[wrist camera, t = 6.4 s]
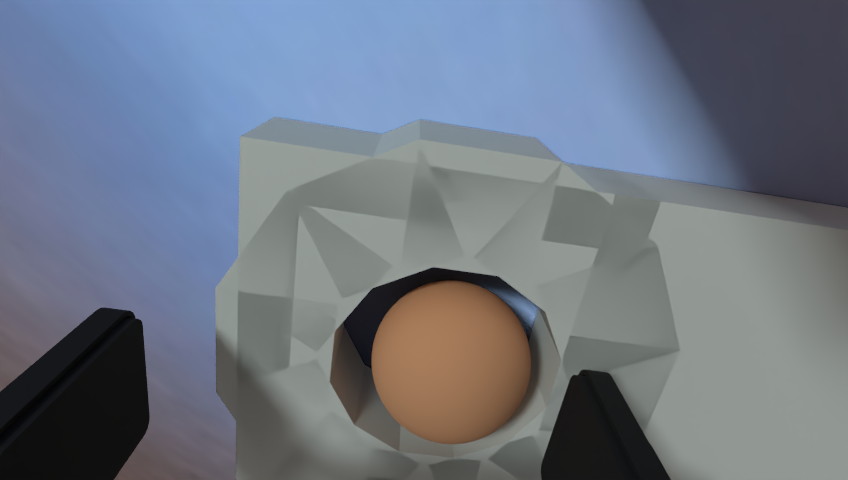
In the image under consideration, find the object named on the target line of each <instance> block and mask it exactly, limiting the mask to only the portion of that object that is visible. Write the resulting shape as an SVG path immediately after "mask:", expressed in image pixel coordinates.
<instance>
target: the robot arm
mask: <svg viewBox="0 0 848 480" xmlns="http://www.w3.org/2000/svg"><path fill="white" fill-rule="evenodd" d="M148 424H149V404H148V391H147V377H146V364H145V351H144V337H143V325H142V322H141V320H139V319H135V315H134V314H133V312H131V311H126V310H119V309H111V308H100V309H98V310H96V311H95V312H94V313H93V314H92V315H90V316H89V317H88V318H87V319H86V320H84V321H83V322H82V323H81V324H80V325H79V326H77V327H76V328H75V329H74V330H73V331H72V332H70V333H69V334H68V335H67V336H66V337H64V338H63V339H62V340H61V341H60V342H59V343H57V344H56V345H55V346H54V347H53V348H51V349H50V350H49V351H48V352H47V353H46V354H44V355H43V356H42V357H41V358H40V359H39V360H37V361H36V362H35V363H34V364H33V365H31V366H30V367H29V368H28V369H27V370H26V371H24V372H23V373H22V374H21V375H20V376H18V377H17V378H16V379H15V380H14V381H13V382H11V383H10V384H9V385H8V386H7V387H6V388H4V389H3V390H2V391H1V392H0V480H114V478H115V477H116V475H117V474H118V473H119V471H120V470H121V468H122V467H123V465H124V464H125V462H126V461H127V460H128V458H129V457H130V455H131V454H132V452H133V451H134V449H135V448H136V447H137V445H138V444H139V442H140V441H141V439H142V438H143V436H144V435H145V433H146V430H147V428H148ZM541 479H542V480H671V479H670V477H669V475H668V474H667V472H666V470H665V468H664V466H663V465H662V463H661V461H660V459H659V458H658V456H657V454H656V452H655V451H654V449H653V447H652V446H651V444H650V443H649V442H648V440H647V438H646V436H645V434H644V433H643V431H642V429H641V427H640V426H639V424H638V422H637V420H636V418H635V417H634V415H633V413H632V411H631V410H630V408H629V406H628V404H627V402H626V401H625V399H624V397H623V395H622V394H621V392H620V390H619V388H618V387H617V385H616V383H615V381H614V379H613V378H612V376H611V375H610V374H609V373H607V372H600V371H593V370H585V369H583V370H581V371H580V372H579V374H578V375H573V376H572V377H571V378H570V381H569V384H568V387H567V390H566V393H565V396H564V399H563V401H562V404H561V407H560V410H559V413H558V416H557V419H556V422H555V425H554V428H553V431H552V434H551V437H550V440H549V443H548V446H547V449H546V452H545V455H544V457H543V460H542V464H541Z"/></svg>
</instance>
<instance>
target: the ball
mask: <svg viewBox="0 0 848 480" xmlns="http://www.w3.org/2000/svg"><path fill="white" fill-rule="evenodd" d="M530 372H531V355H530V348H529V343H528V339H527V336H526V334H525V331H524V329H523V326H522V325H521V323H520V321H519V319H518V317H517V316H516V315H515V313H514V312H513V311H512V309H511V308H510V307H509V306H508V305H507V304H506V303H505V302H504V301H503V300H502V299H500V298H499V297H498V296H497V295H495V294H494V293H492V292H490V291H489V290H487V289H485V288H483V287H480V286H478V285H475V284H472V283H469V282H463V281H453V280H445V281H436V282H432V283H428V284H425V285H422V286H420V287H417V288H415V289H414V290H412V291H410V292H408V293H407V294H406V295H404V296H403V297H401V298H400V299H399V300H398V301H397V302H396V303H395V304H394V305H393V306H392V307H391V308H390V310H389V311H388V312H387V313H386V315H385V316H384V318H383V320H382V322H381V323H380V325H379V328H378V330H377V333H376V335H375V339H374V343H373V349H372V373H373V380H374V383H375V387H376V390H377V392H378V395H379V397H380V399H381V401H382V403H383V404H384V406H385V408H386V409H387V411H388V412H389V413H390V414H391V416H392V417H393V418H394V419H395V420H396V421H397V422H398V423H399V424H400V425H401V426H402V427H404V428H405V429H407V430H408V431H409V432H411V433H413V434H415V435H417V436H418V437H420V438H423V439H426V440H429V441H431V442H436V443H441V444H463V443H468V442H473V441H476V440H479V439H481V438H484V437H486V436H488V435H490V434H491V433H493V432H495V431H496V430H497V429H499V428H500V427H501V426H503V425H504V424H505V423H506V422H507V421H508V420H509V419H510V418H511V417H512V416H513V414H514V413H515V411H516V410H517V409H518V407H519V406H520V404H521V402H522V400H523V398H524V396H525V393H526V390H527V387H528V384H529V379H530Z"/></svg>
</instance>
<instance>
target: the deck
mask: <svg viewBox="0 0 848 480" xmlns="http://www.w3.org/2000/svg"><path fill="white" fill-rule="evenodd" d="M432 267H436V268H443V269H450V270H457V271H464V272H472V273H479V274H486V275H493V276H499V277H500V278H501V279H503V280H504V281H505V282H506V283H508V284H509V285H510V286H512V287H513V288H514V289H516V290H517V291H518V292H520V293H521V294H522V295H524V296H525V297H526V298H528V299H529V300H530V301H532V302H533V303H534V304H535V305H537V306H538V311H537V314H536V318H535V321H534V325H533V328H532V332H531V335H530V339H529V342H528V343H529V348H530V355H531V372H530V379H529V384H528V387H527V390H526V393H525V396H524V398H523V400H522V402H521V404H520V406H519V407H518V409H517V410H516V411H515V413H514V414H513V416H512V417H511V418H510V419H509V420H508V421H507V422H506V423H505V424H504V425H503V426H501V427H500V428H499V429H497V430H496V431H495V432H493V433H491V434H490V435H488V436H486V437H484V438H481V439H479V440H476V441H473V442H468V443H463V444H441V443H436V442H431V441H429V440H426V439H423V438H420V437H418V436H417V435H415V434H413V433H411V432H409V431H408V430H407V429H405V428H404V427H402V426H401V425H400V424H399V423H398V422H397V421H396V420H395V419H394V418H393V417H392V416H391V414H390V413H389V412H388V411H387V409H386V408H385V406H384V404H383V403H382V401H381V399H380V397H379V395H378V392H377V390H376V387H375V383H374V380H373V373H372V369H371V368H369V367H368V366H366V365H364V363H363V361H362V359H361V357H360V355H359V353H358V351H357V350H356V348H355V346H354V344H353V342H352V340H351V338H350V336H349V334H348V332H347V330H346V329H345V327H344V322H345V319H346V318H347V317H348V316H349V315H350V313H351V312H352V311H353V310H354V309H355V308H356V306H357V305H358V304H359V303H360V302H361V301H362V300H363V298H364V297H365V296H366V295H367V294H368V293H369V292H370V290H371V289H372V288H375V287H378V286H380V285H383V284H386V283H389V282H392V281H395V280H398V279H401V278H404V277H406V276H409V275H412V274H415V273H418V272H421V271H424V270H427V269H429V268H432ZM215 293H216V392H217V394H218V395H219V397H220V398H221V400H222V401H223V402H224V404H225V405H226V407H227V408H228V410H229V411H230V413H231V414H232V416H233V417H234V418H235V420H236V479H235V480H542V479H541V464H542V460H543V457H544V455H545V452H546V449H547V446H548V443H549V440H550V437H551V434H552V431H553V428H554V425H555V422H556V419H557V416H558V413H559V410H560V407H561V404H562V401H563V399H564V396H565V393H566V390H567V387H568V384H569V381H570V378H571V377H572V376H573V375H578V374H579V372H580V371H581V370H583V369H585V370H593V371H600V372H607V373H609V374H610V375H611V376H612V378H613V379H614V381H615V383H616V385H617V387H618V388H619V390H620V392H621V394H622V395H623V397H624V399H625V401H626V402H627V404H628V406H629V408H630V410H631V411H632V413H633V415H634V417H635V418H636V420H637V422H638V424H639V426H640V427H641V429H642V431H643V433H644V434H645V436H646V438H647V440H648V442H649V443H650V444H651V446H652V447H653V449H654V451H655V452H656V454H657V456H658V458H659V459H660V461H661V463H662V465H663V466H664V468H665V470H666V472H667V474H668V475H669V477H670V479H671V480H848V208H847V207H841V206H835V205H828V204H822V203H816V202H809V201H803V200H797V199H790V198H784V197H778V196H771V195H765V194H759V193H752V192H746V191H740V190H733V189H727V188H721V187H715V186H708V185H702V184H696V183H689V182H683V181H677V180H670V179H664V178H658V177H651V176H645V175H639V174H632V173H626V172H620V171H613V170H607V169H601V168H594V167H588V166H582V165H575V164H569V163H564V162H563V161H561V160H560V159H559V158H558V157H557V156H556V155H555V154H553V153H552V152H551V151H550V150H549V149H548V148H547V147H545V146H544V145H543V144H542V143H541V142H540V141H539V140H537V139H536V138H532V137H526V136H520V135H514V134H508V133H501V132H495V131H489V130H483V129H477V128H470V127H464V126H458V125H452V124H445V123H439V122H433V121H427V120H421V119H419V120H417V121H414V122H412V123H409V124H407V125H404V126H401V127H399V128H396V129H394V130H391V131H389V132H386V133H384V134H379V133H373V132H367V131H360V130H354V129H348V128H341V127H335V126H329V125H322V124H316V123H310V122H303V121H297V120H291V119H284V118H278V117H274V118H272V119H270V120H268V121H267V122H265V123H263V124H261V125H260V126H258V127H256V128H254V129H252V130H251V131H249V132H247V133H245V134H243V135H242V136H240V174H239V250H238V258H237V259H236V261H235V262H234V264H233V265H232V266H231V268H230V269H229V270H228V272H227V273H226V275H225V276H224V277H223V279H222V280H221V281H220V283H219V284H218V285H217V287H216V288H215Z"/></svg>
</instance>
